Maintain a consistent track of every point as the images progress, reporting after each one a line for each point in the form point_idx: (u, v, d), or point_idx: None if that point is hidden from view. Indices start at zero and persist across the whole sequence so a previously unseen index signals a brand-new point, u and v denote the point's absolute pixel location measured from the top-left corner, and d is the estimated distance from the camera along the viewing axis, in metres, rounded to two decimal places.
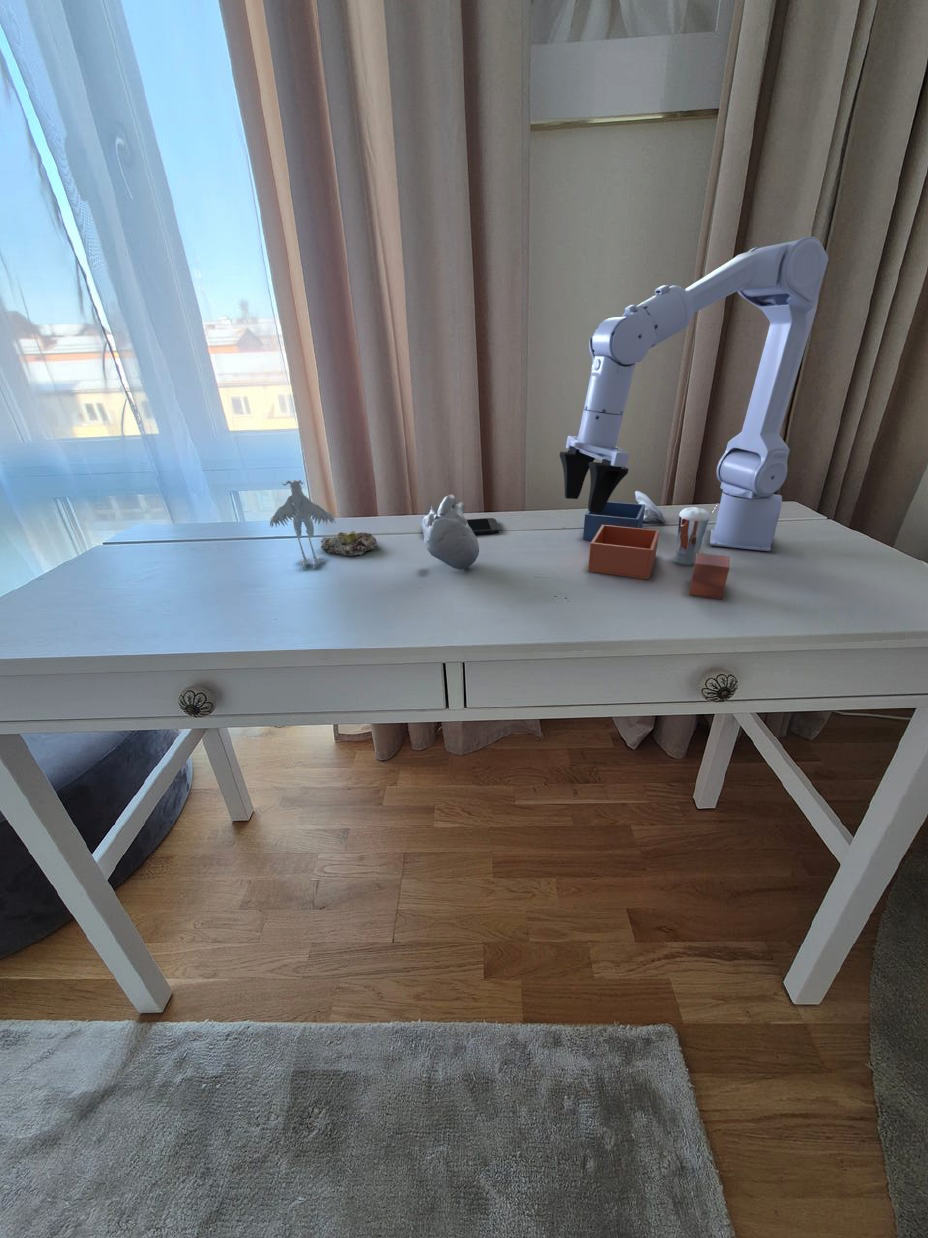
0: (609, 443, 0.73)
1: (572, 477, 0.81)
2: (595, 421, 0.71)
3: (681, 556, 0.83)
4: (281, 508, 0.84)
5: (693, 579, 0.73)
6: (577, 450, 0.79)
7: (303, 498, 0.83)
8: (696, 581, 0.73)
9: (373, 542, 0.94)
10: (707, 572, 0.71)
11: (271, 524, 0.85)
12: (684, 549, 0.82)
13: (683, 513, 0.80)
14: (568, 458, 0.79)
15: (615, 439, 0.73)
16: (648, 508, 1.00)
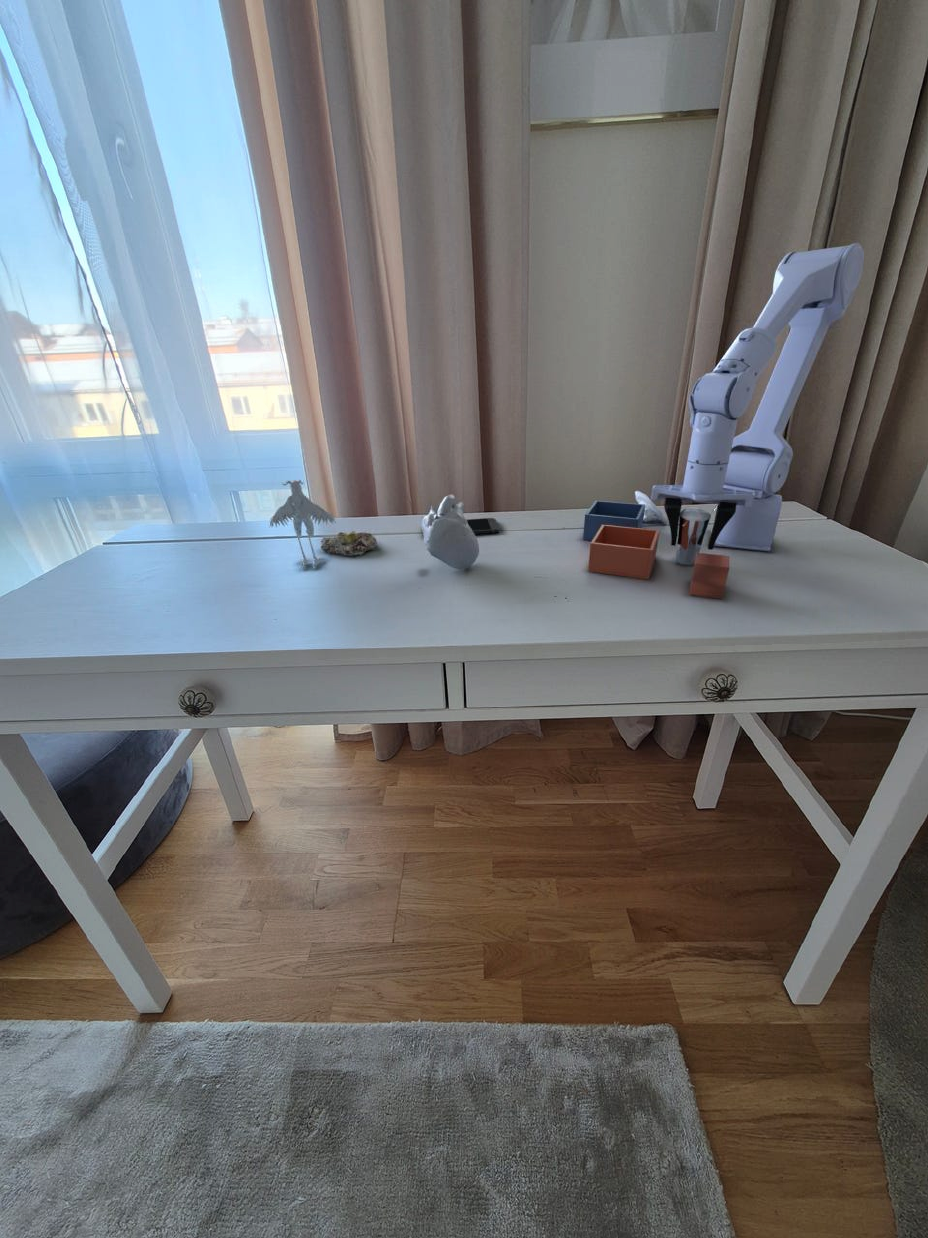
0: None
1: (677, 525, 0.82)
2: (719, 473, 0.74)
3: (681, 556, 0.83)
4: (281, 508, 0.84)
5: (693, 579, 0.73)
6: None
7: (303, 498, 0.83)
8: (696, 581, 0.73)
9: (373, 542, 0.94)
10: (707, 572, 0.71)
11: (271, 524, 0.85)
12: (685, 549, 0.82)
13: (684, 513, 0.80)
14: (680, 510, 0.79)
15: None
16: (648, 508, 1.00)
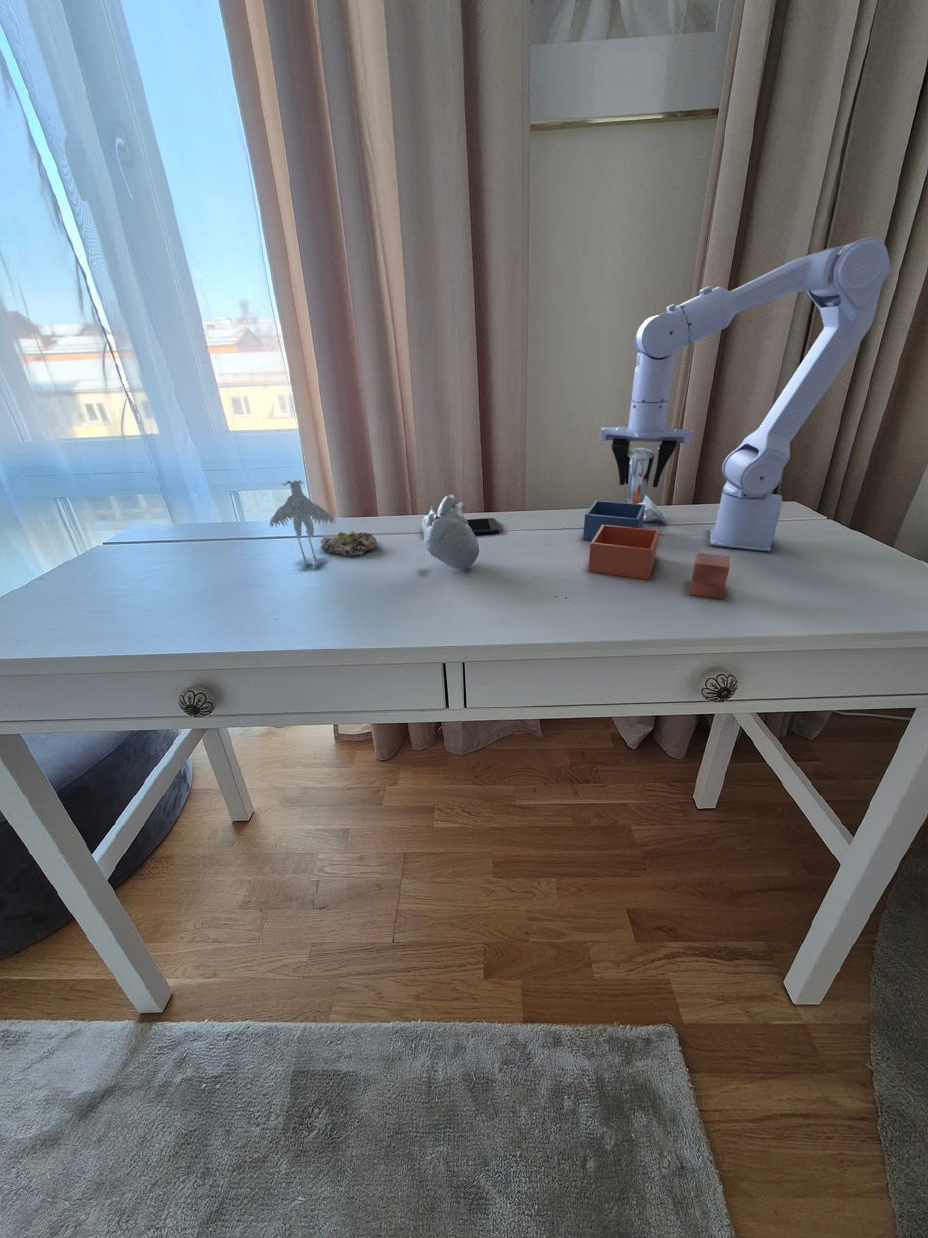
0: (664, 426, 0.83)
1: (625, 465, 0.87)
2: (659, 411, 0.80)
3: (629, 495, 0.88)
4: (281, 508, 0.84)
5: (693, 579, 0.73)
6: (620, 439, 0.86)
7: (303, 498, 0.83)
8: (696, 581, 0.73)
9: (373, 542, 0.94)
10: (707, 572, 0.71)
11: (271, 524, 0.85)
12: (632, 487, 0.87)
13: (629, 452, 0.85)
14: (625, 449, 0.85)
15: None
16: (648, 508, 1.00)
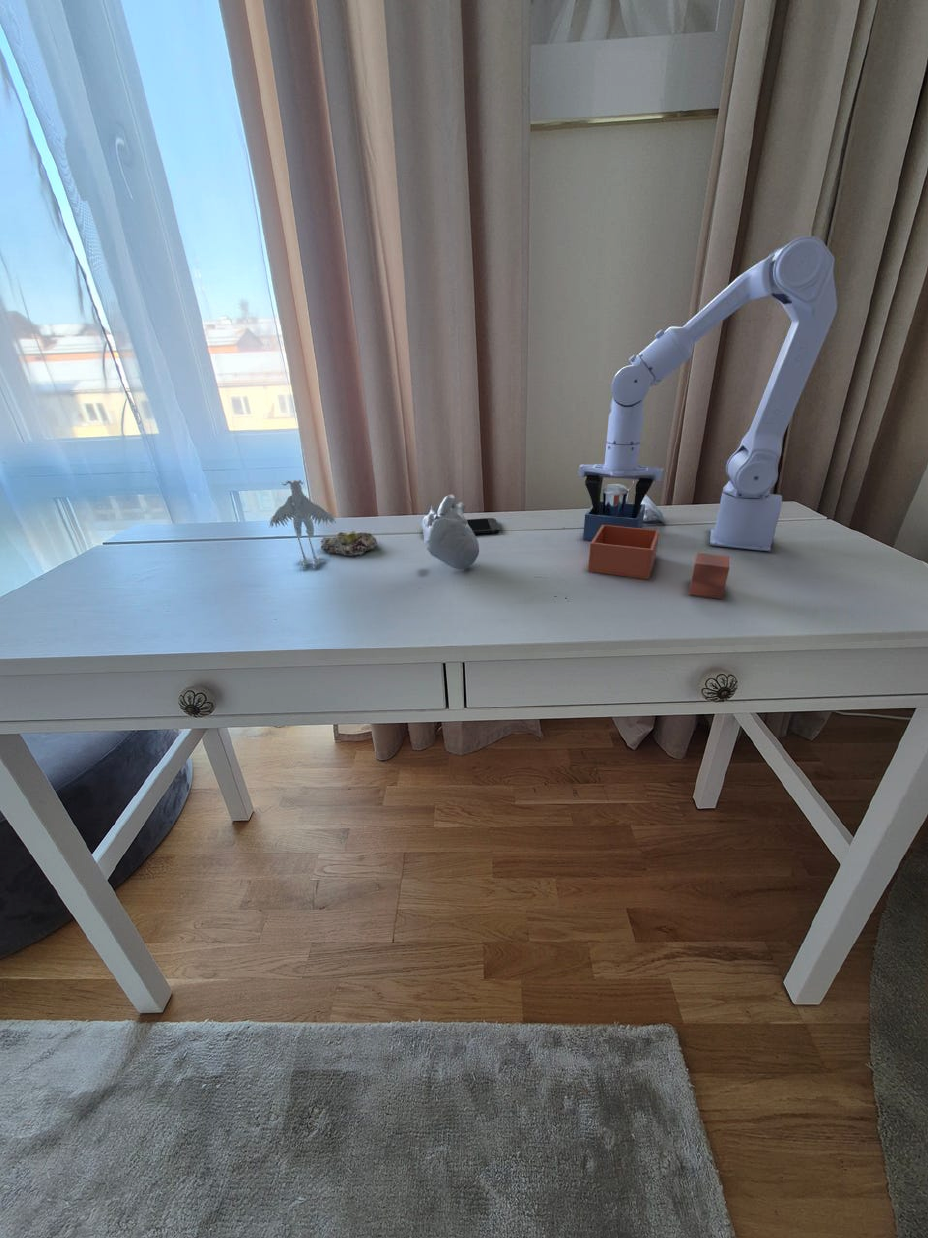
0: (637, 464, 0.90)
1: (598, 498, 0.94)
2: (631, 452, 0.87)
3: None
4: (281, 508, 0.84)
5: (693, 579, 0.73)
6: (597, 476, 0.93)
7: (303, 498, 0.83)
8: (696, 581, 0.73)
9: (373, 542, 0.94)
10: (707, 572, 0.71)
11: (271, 524, 0.85)
12: None
13: (605, 489, 0.92)
14: (598, 485, 0.92)
15: None
16: (648, 508, 1.00)
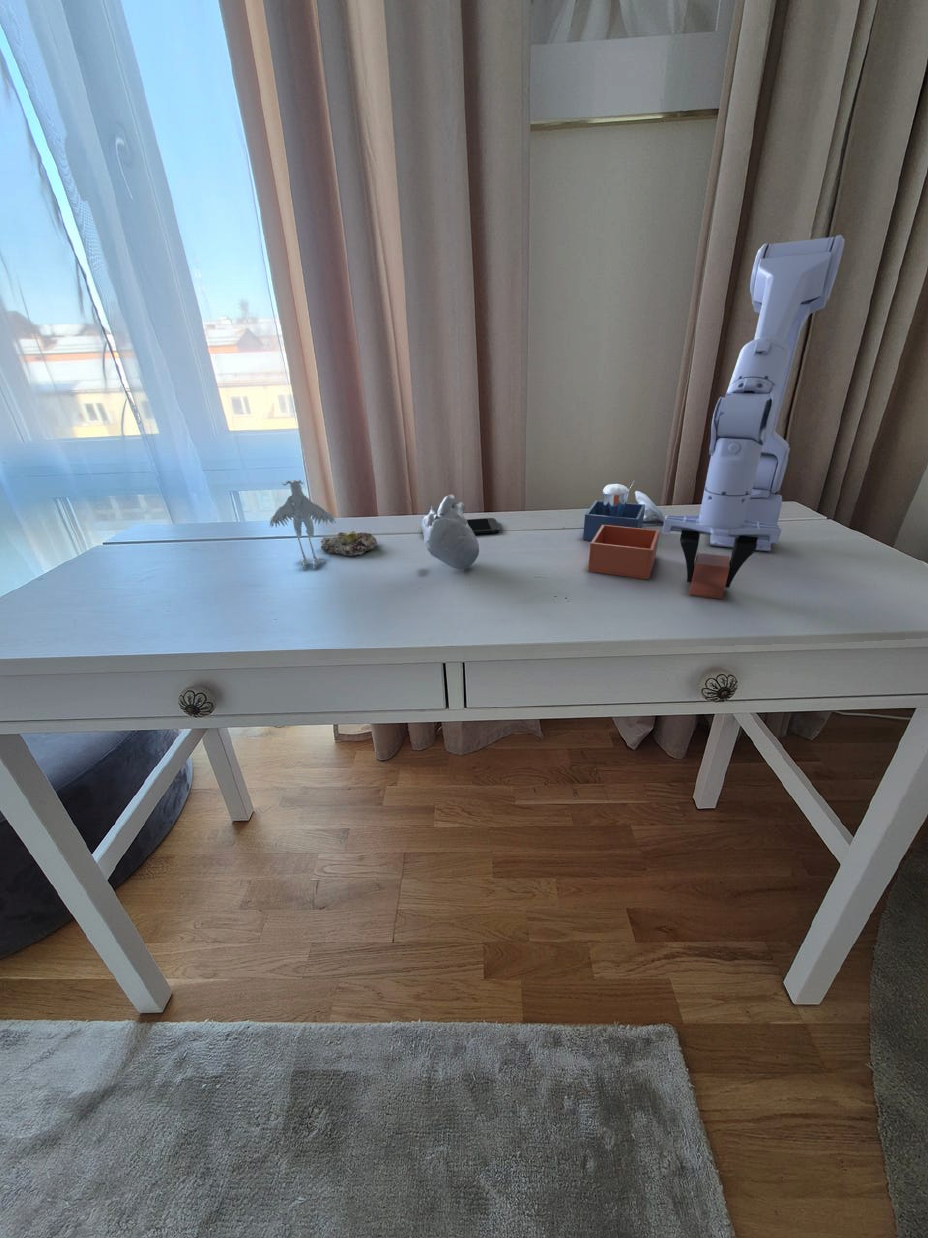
0: None
1: None
2: (741, 505, 0.66)
3: None
4: (281, 508, 0.84)
5: (693, 579, 0.73)
6: None
7: (303, 498, 0.83)
8: (696, 581, 0.73)
9: (373, 542, 0.94)
10: (707, 572, 0.71)
11: (271, 524, 0.85)
12: None
13: (605, 489, 0.92)
14: None
15: None
16: (648, 508, 1.00)
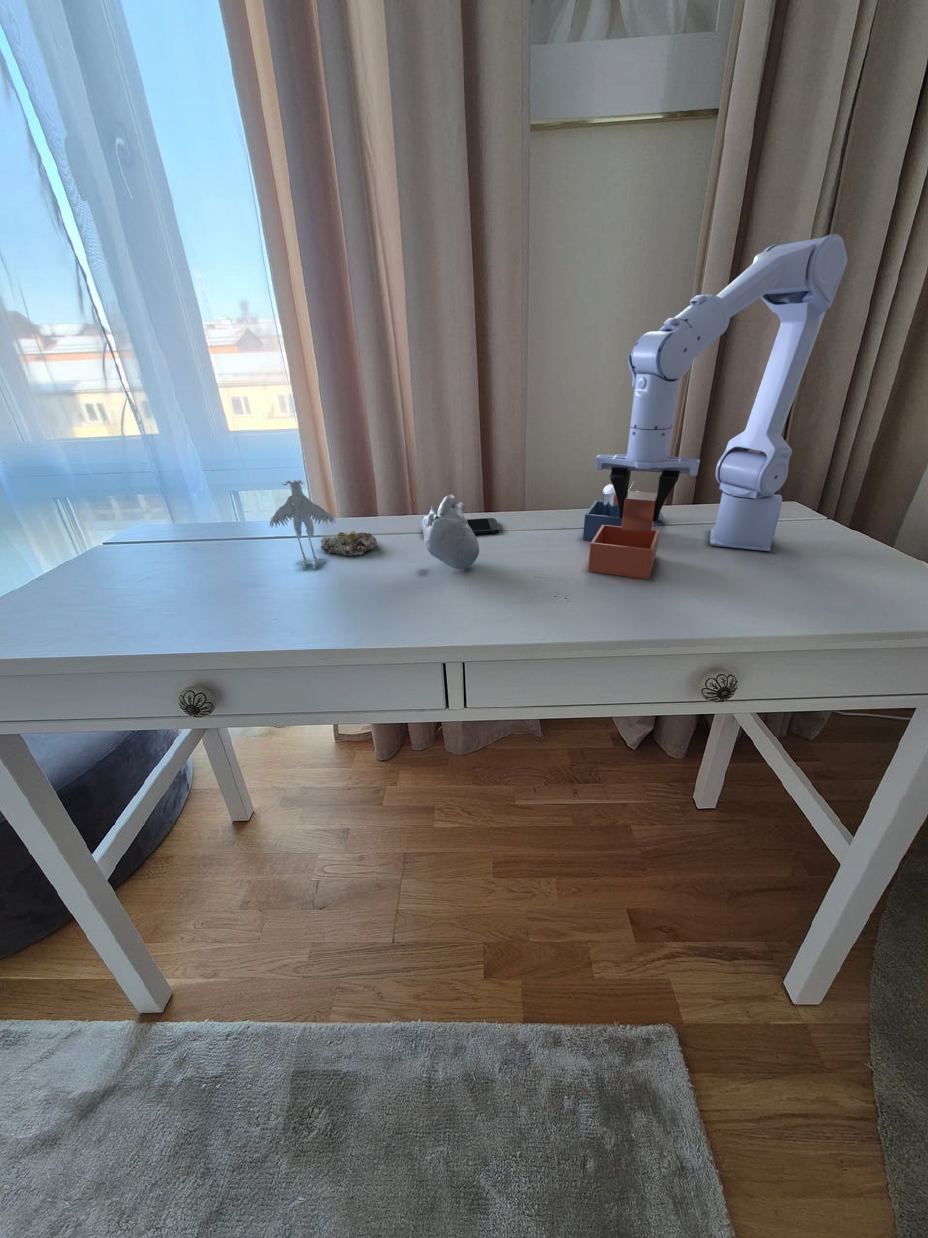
0: (667, 454, 0.74)
1: (625, 497, 0.78)
2: (662, 439, 0.71)
3: None
4: (281, 508, 0.84)
5: (624, 514, 0.78)
6: None
7: (303, 498, 0.83)
8: (626, 516, 0.77)
9: (373, 542, 0.94)
10: (635, 506, 0.76)
11: (271, 524, 0.85)
12: None
13: (605, 489, 0.92)
14: (626, 480, 0.75)
15: None
16: None
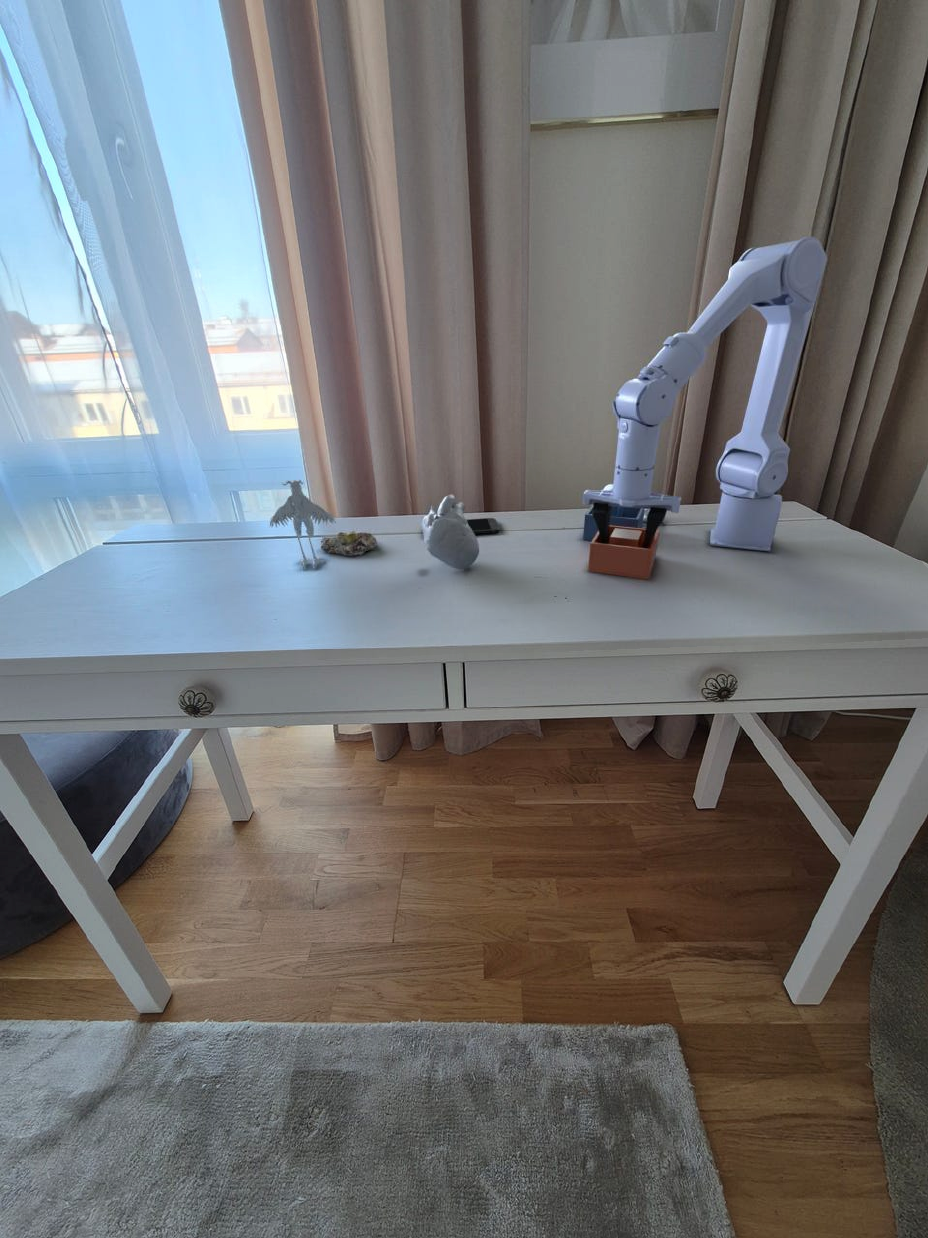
0: (650, 492, 0.78)
1: (606, 530, 0.82)
2: (644, 479, 0.75)
3: None
4: (281, 508, 0.84)
5: None
6: None
7: (303, 498, 0.83)
8: None
9: (373, 542, 0.94)
10: (620, 544, 0.81)
11: (271, 524, 0.85)
12: None
13: (605, 489, 0.92)
14: (606, 515, 0.80)
15: None
16: None
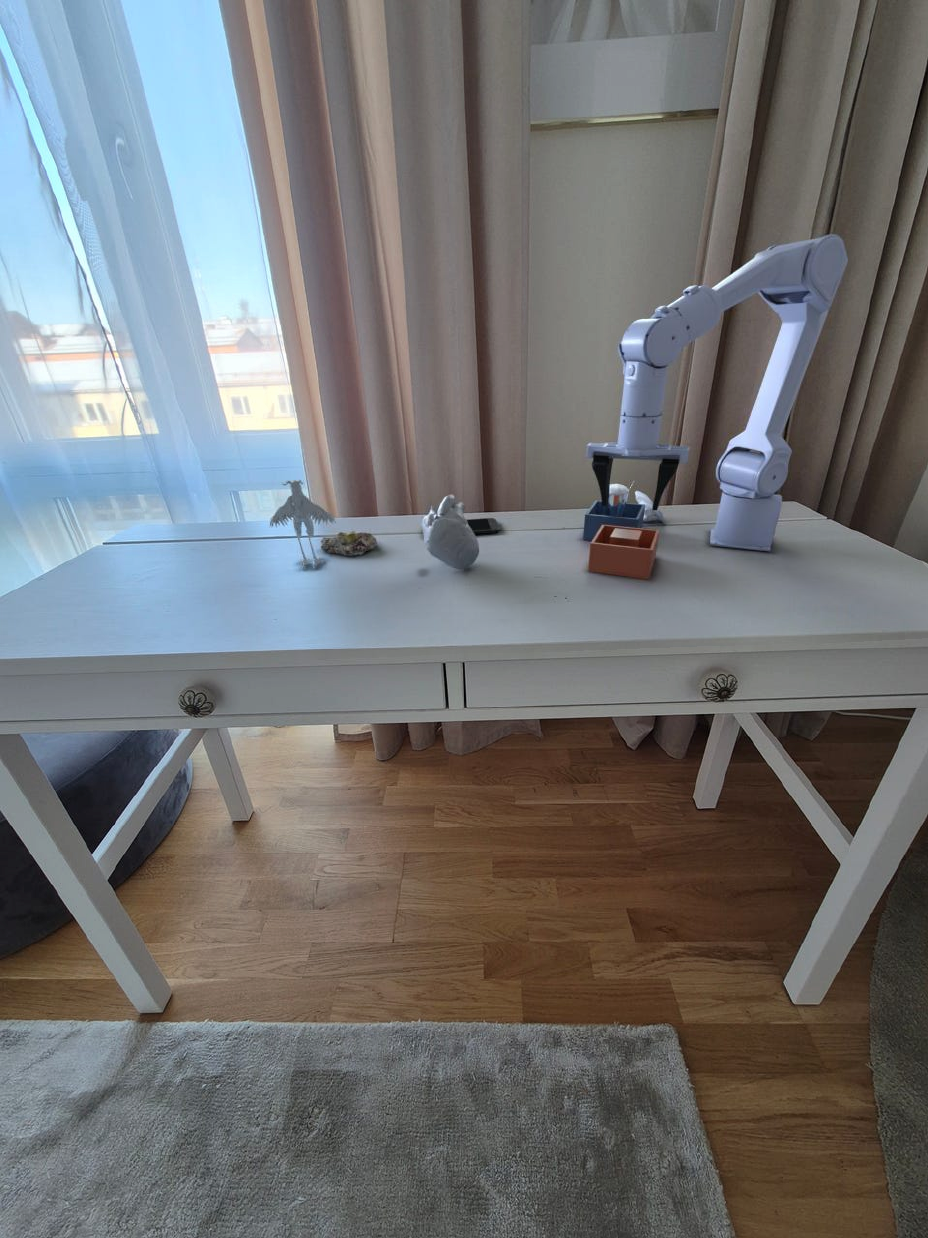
0: (657, 442, 0.74)
1: (607, 484, 0.79)
2: (651, 426, 0.71)
3: None
4: (281, 508, 0.84)
5: None
6: (608, 457, 0.77)
7: (303, 498, 0.83)
8: None
9: (373, 542, 0.94)
10: (620, 544, 0.81)
11: (271, 524, 0.85)
12: None
13: None
14: (607, 467, 0.76)
15: None
16: (648, 508, 1.00)
